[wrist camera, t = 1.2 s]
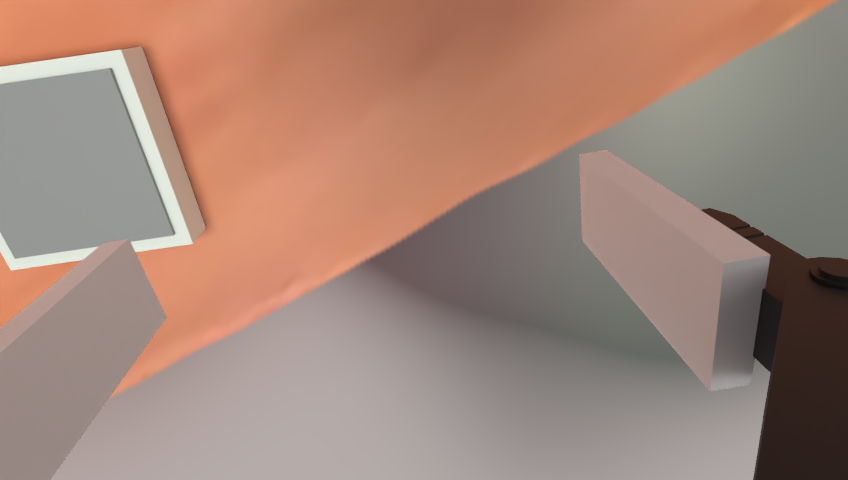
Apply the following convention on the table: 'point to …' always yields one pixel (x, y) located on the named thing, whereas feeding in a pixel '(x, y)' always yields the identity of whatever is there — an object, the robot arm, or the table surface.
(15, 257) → the stand
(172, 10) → the table surface
